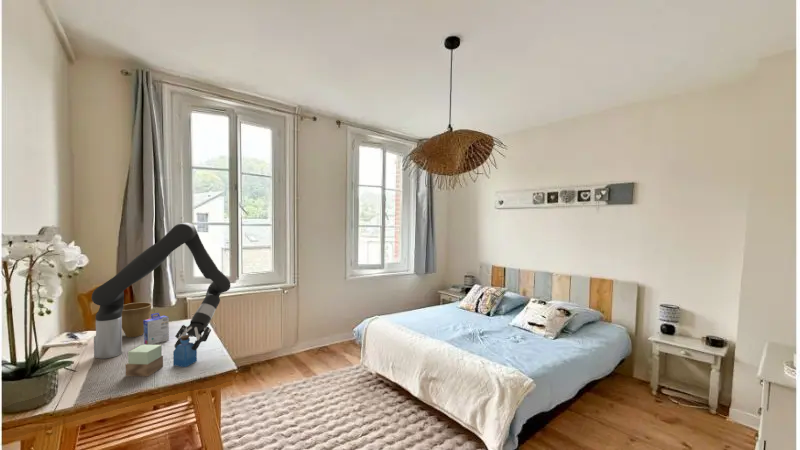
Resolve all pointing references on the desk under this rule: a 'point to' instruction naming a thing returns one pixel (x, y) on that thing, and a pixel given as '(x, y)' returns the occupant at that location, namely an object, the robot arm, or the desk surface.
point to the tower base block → (144, 368)
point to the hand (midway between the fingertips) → (184, 348)
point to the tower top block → (144, 354)
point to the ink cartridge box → (156, 329)
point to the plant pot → (135, 318)
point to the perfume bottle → (184, 353)
